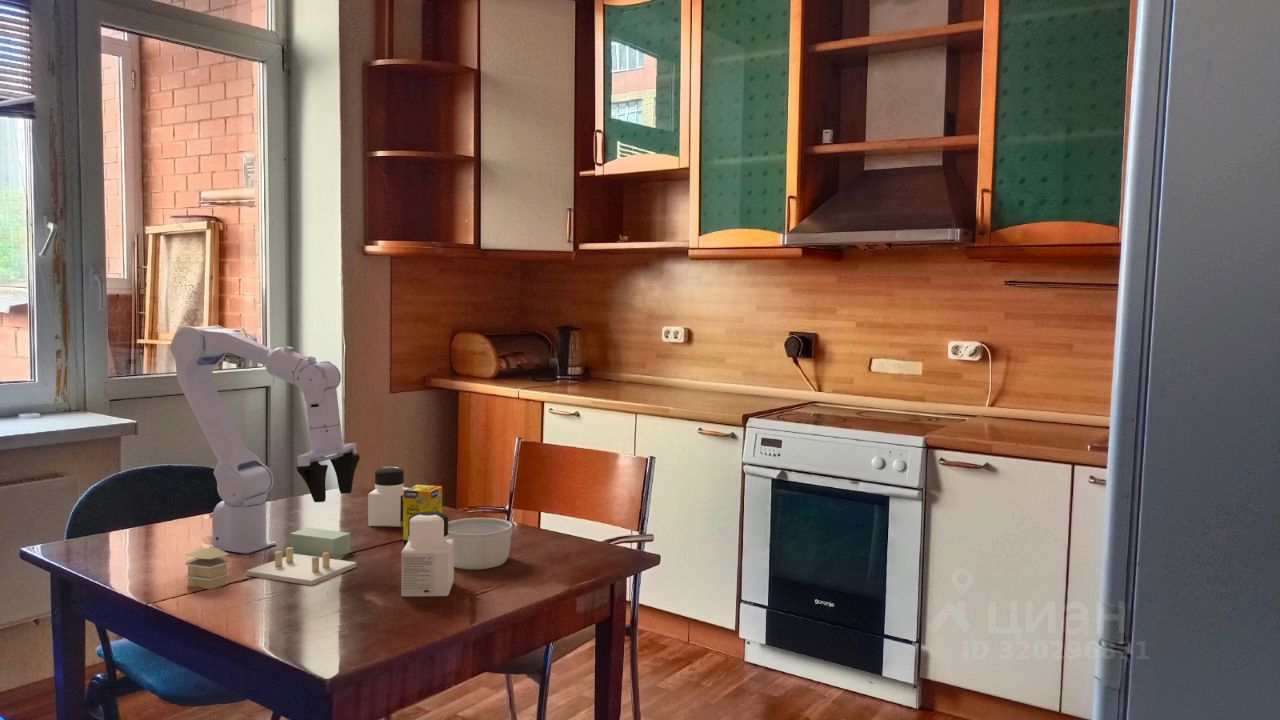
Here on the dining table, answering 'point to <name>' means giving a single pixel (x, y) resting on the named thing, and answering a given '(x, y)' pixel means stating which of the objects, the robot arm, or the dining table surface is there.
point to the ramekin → (480, 542)
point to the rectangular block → (320, 542)
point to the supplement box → (420, 503)
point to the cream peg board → (301, 568)
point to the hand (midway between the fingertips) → (333, 497)
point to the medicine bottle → (387, 498)
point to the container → (427, 556)
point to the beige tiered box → (207, 568)
